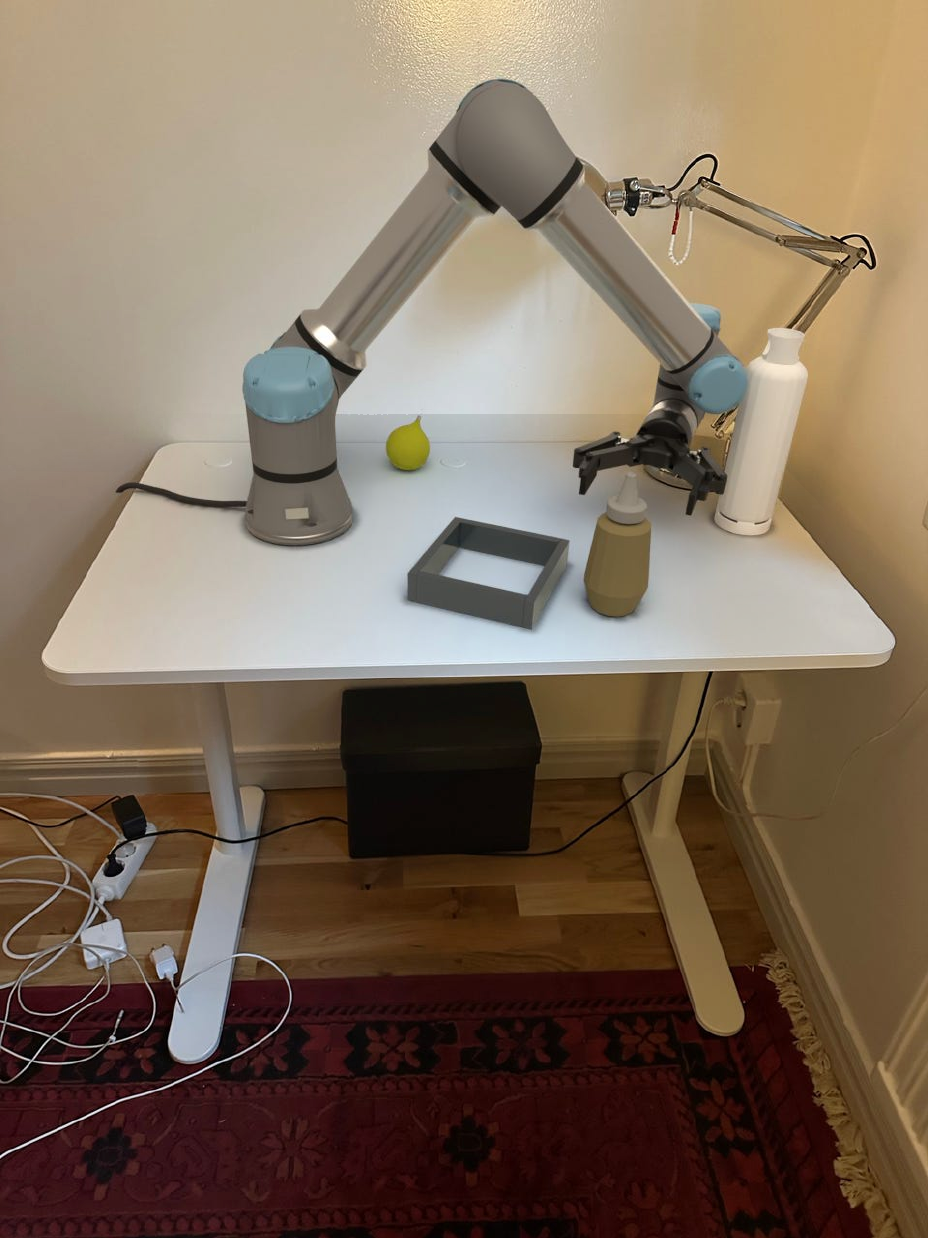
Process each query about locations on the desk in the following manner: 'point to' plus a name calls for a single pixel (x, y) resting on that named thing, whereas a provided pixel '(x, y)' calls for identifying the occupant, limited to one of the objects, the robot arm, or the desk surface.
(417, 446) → the yellow teardrop-shaped fruit
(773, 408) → the bottle
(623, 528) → the squeeze bottle
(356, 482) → the desk surface
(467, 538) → the grey open square frame
